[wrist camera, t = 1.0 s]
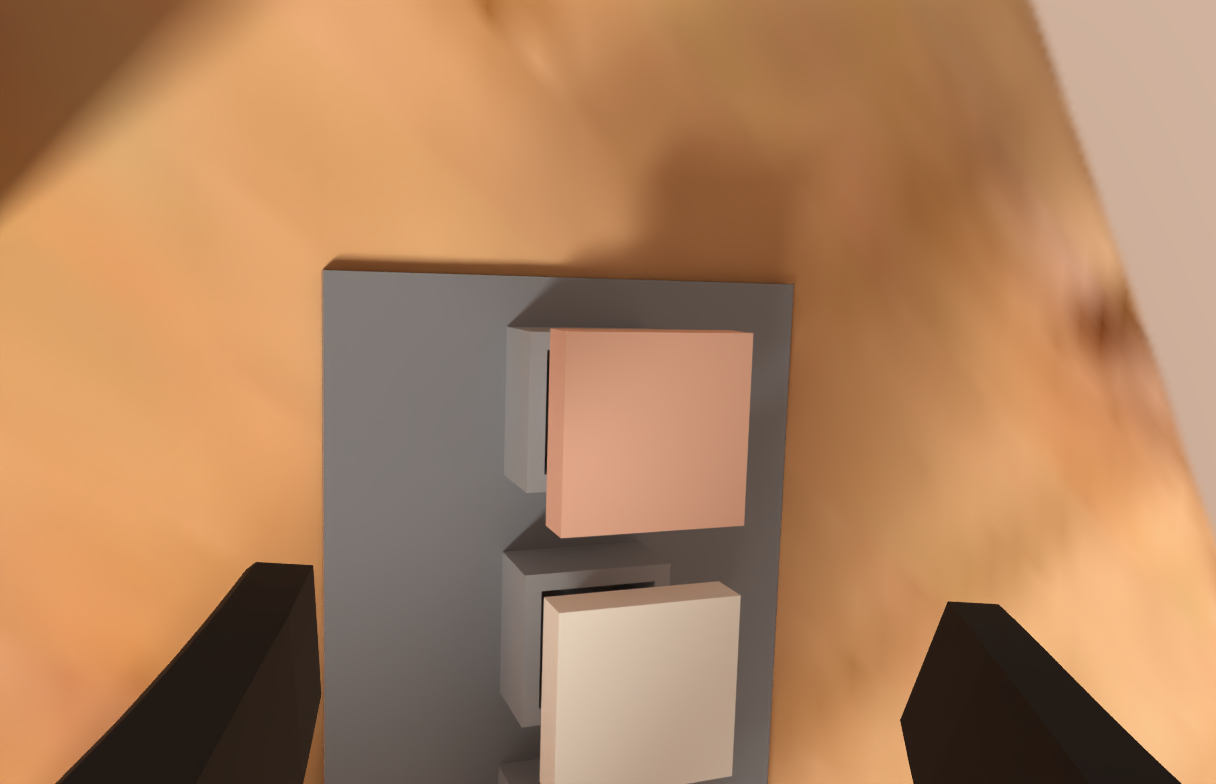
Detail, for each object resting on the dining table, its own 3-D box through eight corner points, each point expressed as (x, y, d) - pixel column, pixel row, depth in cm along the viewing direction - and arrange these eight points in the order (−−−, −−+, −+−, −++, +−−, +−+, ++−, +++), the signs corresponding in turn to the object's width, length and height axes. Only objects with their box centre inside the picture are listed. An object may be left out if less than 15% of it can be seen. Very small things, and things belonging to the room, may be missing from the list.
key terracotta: (673, 489, 24) (744, 525, 20) (513, 498, 22) (560, 538, 19) (680, 323, 23) (753, 332, 20) (516, 321, 22) (566, 331, 18)
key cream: (665, 707, 24) (731, 776, 21) (508, 729, 23) (553, 806, 20) (671, 550, 24) (741, 595, 20) (512, 562, 22) (559, 613, 19)
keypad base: (755, 875, 28) (799, 927, 26) (324, 967, 24) (333, 1039, 22) (785, 284, 26) (836, 285, 24) (321, 269, 22) (331, 270, 20)
